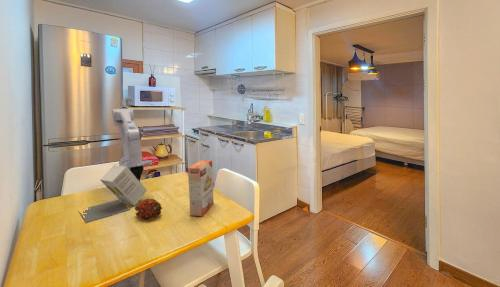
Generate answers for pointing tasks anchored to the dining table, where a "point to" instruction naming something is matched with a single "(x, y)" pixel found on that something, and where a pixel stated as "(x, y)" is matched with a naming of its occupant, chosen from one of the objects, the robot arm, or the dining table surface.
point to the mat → (104, 210)
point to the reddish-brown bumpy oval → (148, 208)
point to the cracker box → (200, 187)
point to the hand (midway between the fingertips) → (137, 181)
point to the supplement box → (124, 184)
